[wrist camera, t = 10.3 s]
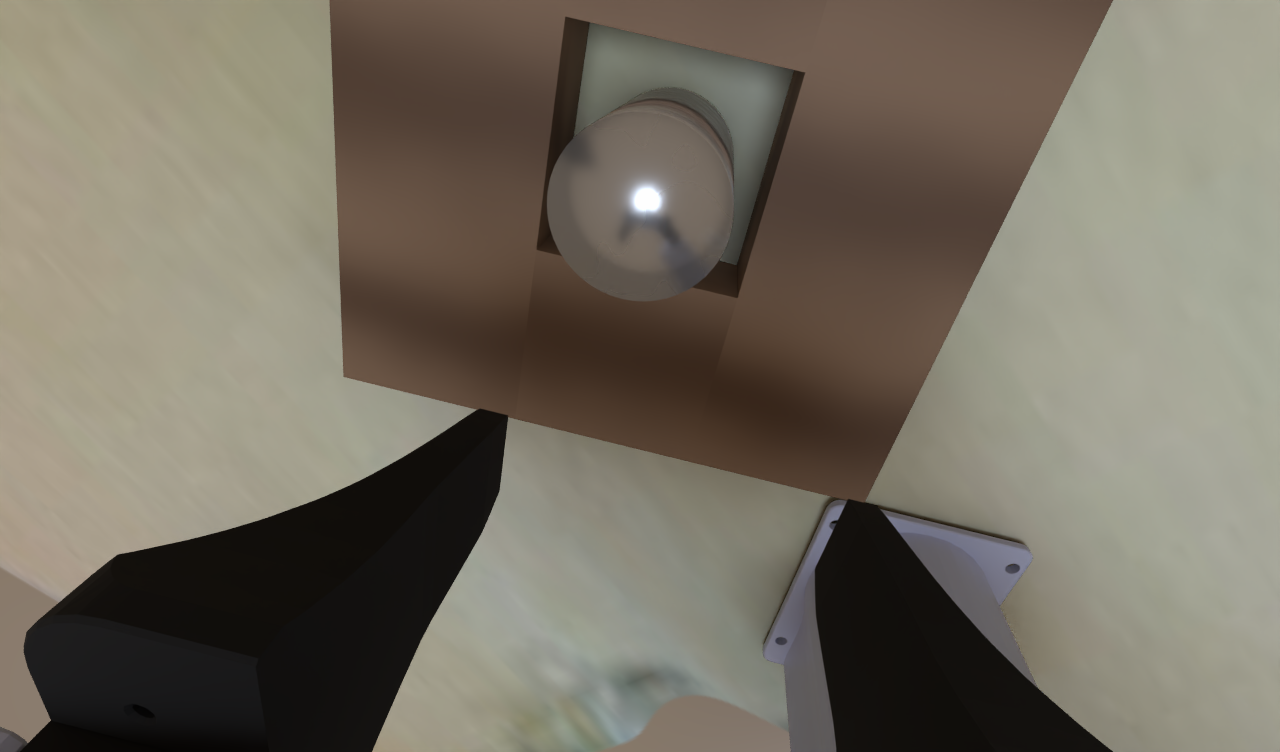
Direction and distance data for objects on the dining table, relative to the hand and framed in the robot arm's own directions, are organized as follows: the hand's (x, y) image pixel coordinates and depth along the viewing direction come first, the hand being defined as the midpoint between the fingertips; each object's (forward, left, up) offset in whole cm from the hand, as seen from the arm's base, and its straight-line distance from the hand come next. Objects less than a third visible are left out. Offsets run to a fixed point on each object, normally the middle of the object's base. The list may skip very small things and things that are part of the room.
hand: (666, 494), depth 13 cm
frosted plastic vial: (+5, +2, -10) cm, 11 cm away
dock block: (+5, +2, -10) cm, 11 cm away
